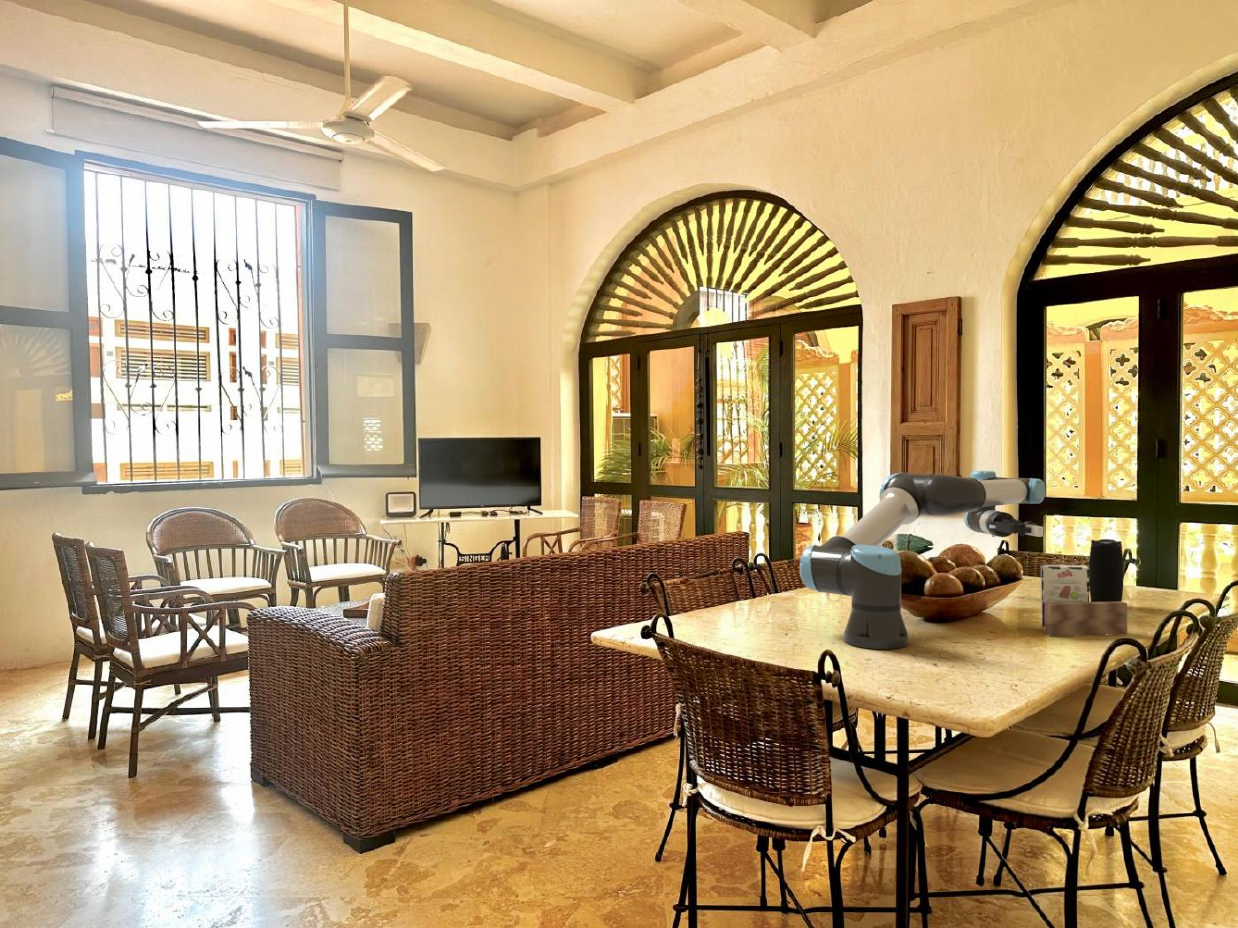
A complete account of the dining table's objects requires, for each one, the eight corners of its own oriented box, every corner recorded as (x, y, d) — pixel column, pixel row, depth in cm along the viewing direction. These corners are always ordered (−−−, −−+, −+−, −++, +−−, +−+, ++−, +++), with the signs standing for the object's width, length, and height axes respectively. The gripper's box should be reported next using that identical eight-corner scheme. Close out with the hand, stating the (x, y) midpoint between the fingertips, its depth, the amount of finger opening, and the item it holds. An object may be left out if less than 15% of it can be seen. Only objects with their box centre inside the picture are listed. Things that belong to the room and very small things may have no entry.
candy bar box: (1087, 627, 227) (1087, 564, 227) (1090, 631, 222) (1090, 567, 222) (1040, 624, 231) (1040, 563, 231) (1041, 628, 227) (1041, 565, 226)
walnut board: (1050, 636, 217) (1050, 604, 217) (1044, 634, 219) (1044, 603, 219) (1127, 634, 218) (1127, 603, 218) (1120, 632, 221) (1120, 601, 220)
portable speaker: (1087, 607, 253) (1087, 541, 252) (1092, 602, 260) (1092, 537, 260) (1120, 610, 247) (1120, 542, 247) (1125, 605, 255) (1125, 539, 255)
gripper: (1018, 535, 263) (1063, 544, 239) (977, 536, 262) (1017, 545, 239) (1018, 511, 263) (1063, 517, 239) (977, 511, 262) (1017, 518, 238)
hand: (1040, 531), depth 239 cm, fingers closed
